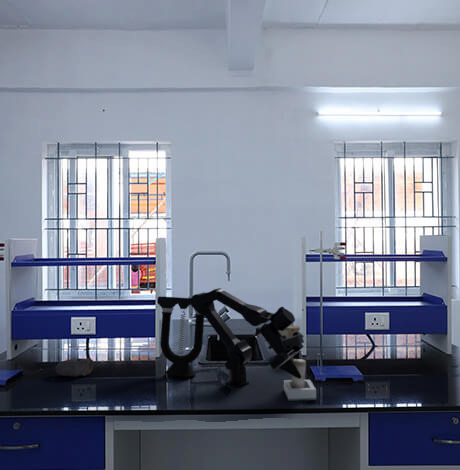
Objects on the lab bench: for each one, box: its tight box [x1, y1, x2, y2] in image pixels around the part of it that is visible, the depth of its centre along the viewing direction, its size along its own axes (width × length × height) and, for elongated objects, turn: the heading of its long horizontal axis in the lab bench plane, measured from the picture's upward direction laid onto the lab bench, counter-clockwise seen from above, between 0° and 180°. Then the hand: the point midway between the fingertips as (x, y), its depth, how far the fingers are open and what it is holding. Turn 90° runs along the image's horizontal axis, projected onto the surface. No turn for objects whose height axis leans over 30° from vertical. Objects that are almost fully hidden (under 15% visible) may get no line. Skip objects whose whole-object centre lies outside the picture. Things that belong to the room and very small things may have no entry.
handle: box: [285, 325, 301, 337], centre depth 181 cm, size 5×6×15 cm
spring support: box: [156, 296, 205, 378], centre depth 167 cm, size 21×12×30 cm, turn 81°
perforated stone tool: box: [55, 357, 94, 378], centre depth 167 cm, size 15×5×7 cm, turn 85°
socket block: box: [283, 379, 317, 402], centre depth 144 cm, size 9×9×4 cm
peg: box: [291, 358, 307, 388], centre depth 144 cm, size 4×4×11 cm
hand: (302, 375), depth 143 cm, fingers closed on peg, 4 cm apart
